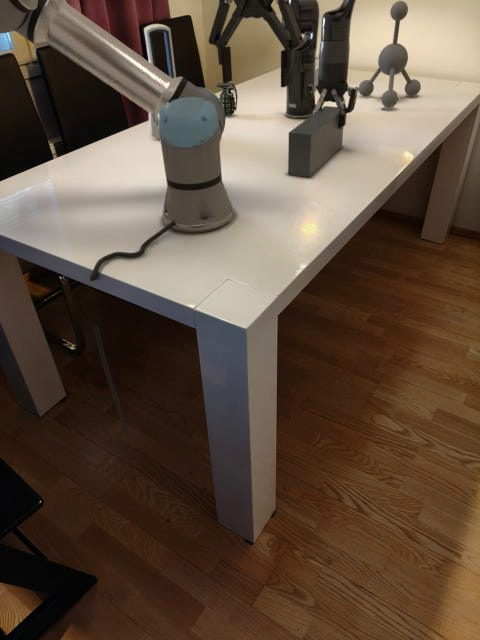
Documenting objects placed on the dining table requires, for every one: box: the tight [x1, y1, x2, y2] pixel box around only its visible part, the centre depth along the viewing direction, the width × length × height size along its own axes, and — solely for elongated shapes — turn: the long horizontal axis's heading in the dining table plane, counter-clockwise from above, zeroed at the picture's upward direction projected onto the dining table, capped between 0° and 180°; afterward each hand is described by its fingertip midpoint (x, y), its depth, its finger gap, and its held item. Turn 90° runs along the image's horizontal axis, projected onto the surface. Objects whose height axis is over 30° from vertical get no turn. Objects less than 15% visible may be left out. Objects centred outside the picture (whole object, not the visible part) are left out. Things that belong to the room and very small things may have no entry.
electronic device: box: [143, 23, 177, 140], centre depth 146 cm, size 12×8×30 cm, turn 105°
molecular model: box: [358, 0, 422, 109], centre depth 166 cm, size 24×22×30 cm
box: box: [287, 105, 344, 178], centre depth 129 cm, size 25×6×10 cm, turn 152°
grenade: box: [215, 82, 238, 117], centre depth 166 cm, size 7×6×10 cm
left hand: (255, 83), depth 103 cm, fingers open, 13 cm apart
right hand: (329, 126), depth 134 cm, fingers closed on box, 6 cm apart
